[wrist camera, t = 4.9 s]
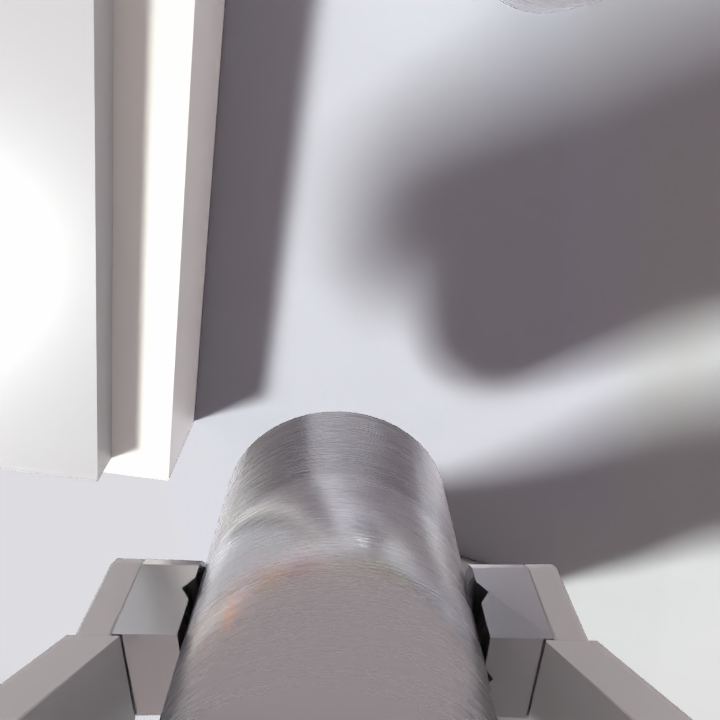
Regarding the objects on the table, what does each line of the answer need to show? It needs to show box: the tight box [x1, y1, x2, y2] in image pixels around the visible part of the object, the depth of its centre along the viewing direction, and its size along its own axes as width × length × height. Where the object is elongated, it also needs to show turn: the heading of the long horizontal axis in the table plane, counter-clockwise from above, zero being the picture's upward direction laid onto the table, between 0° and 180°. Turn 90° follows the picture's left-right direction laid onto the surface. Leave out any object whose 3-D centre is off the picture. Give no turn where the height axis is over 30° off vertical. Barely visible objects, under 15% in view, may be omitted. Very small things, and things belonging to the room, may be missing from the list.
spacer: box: [160, 412, 498, 720], centre depth 10 cm, size 5×5×6 cm
